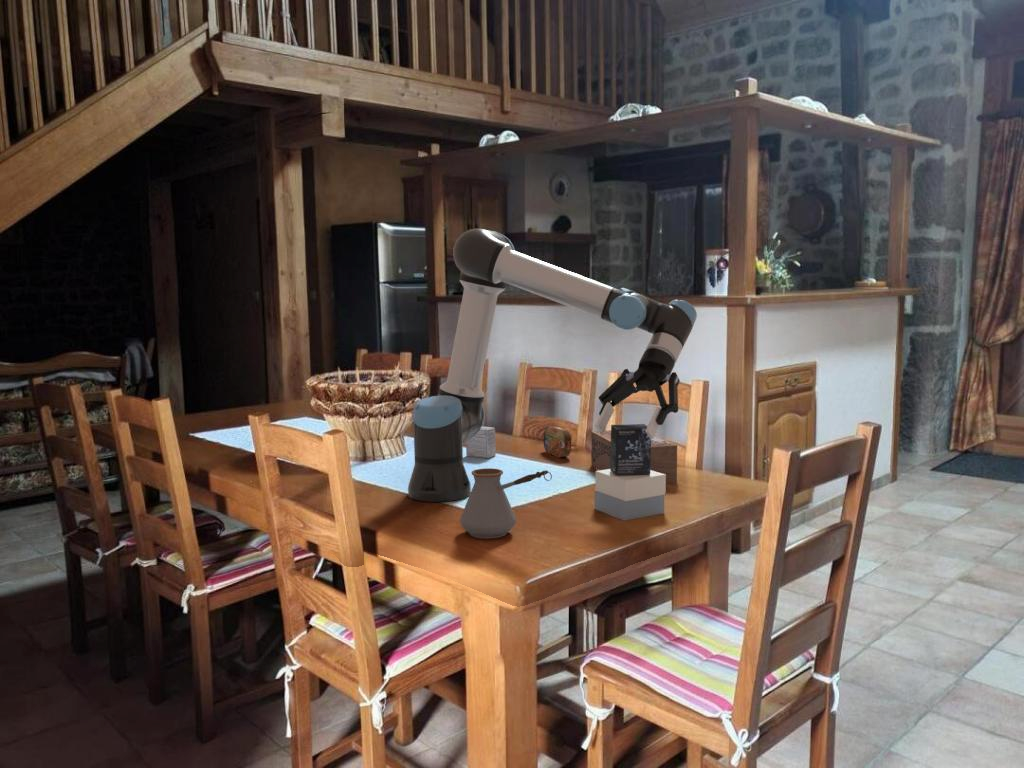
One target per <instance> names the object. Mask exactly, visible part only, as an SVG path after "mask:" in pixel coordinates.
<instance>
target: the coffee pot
mask: <svg viewBox="0 0 1024 768" xmlns="http://www.w3.org/2000/svg"><path fill="white" fill-rule="evenodd" d="M503 474H504V471H503V470H502V469H498V468H489V467H487V468H479V469H478V468H477V469H474V470H472V471H471V475H472V476H473V479H474V484H473V486H472V487H471V488H472V489H471V493H470V495H469V496H468V498H467V500H466V503H465V506H464V509H463V511H462V513H461V515H460V519H459V523H460V526H461V527H462V528H463V530H465V531H466V533H469V535H470V536H471V537H474V538H476V539H477V538H478V539H497V538H498V539H499V538H502V537H505V536H506V535H507V534H508V532H510V531H511V530H512V528H514V526H515V524H516V521H517V517H516V515H515V512H514V511H513V508H512V506H511V502H510V501H509V499H508V497H507V494H506V492H505V489H508V488H510V487H513V486H518V485H521V484H524V483H528V482H532V481H533V480H535V479H537V478H538V479H541V478H542V476H543V478H544V480H545V481H547V482H548V481H549V482H550V481H551V480H552V478H553V476H552V473H551V472H550V471H548V470H542V471H541V472H540V471H536V472H535V473H532V474H531V473H530V474H527V475H525V476H523V477H520V478H518V479H516V480H513V481H511V482H506V483H504V484H502V483H501V476H502V475H503ZM548 474H549V475H550V479H547V478H546V476H545V475H548Z"/></svg>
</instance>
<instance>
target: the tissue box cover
mask: <svg viewBox="0 0 1024 768" xmlns="http://www.w3.org/2000/svg"><path fill="white" fill-rule="evenodd" d="M590 437H591V439H590V445H591V446H590V447H591V449H590V452H591V453H590V454H591V455H590V456H591V458H590V460H591V462H590V463H591V465H593V466H594V467H595V468H594V467H593V466H592V467H593V468H594V469H596V468H597V469H599V470H606V469H610V459H611V458H610V457H611V429H609V430H604V432H603V433H602V432H600V431H599V430H593V431H591V433H590ZM591 465H590V466H591ZM597 469H596V470H597ZM599 470H598V471H599ZM650 470H652V471H655V472H659V473H662V474H666V483H673V484H678V483H677V482H678V445H677V444H675V443H673V442H671V441H668V440H666V439H664V438H661V437H659V436H657V435H655V436H654V438H653V439H651V460H650Z"/></svg>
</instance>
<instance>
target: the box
mask: <svg viewBox="0 0 1024 768" xmlns="http://www.w3.org/2000/svg"><path fill="white" fill-rule="evenodd" d="M647 426H648V425H647V424H645V423H640V424H639V423H637V424H636V423H635V424H610V430H611V457H610V458H611V459H610V470H611V471H612V472H613V473H614V474H615V475H616V476H620V475H650V460H651V439H650V438H649V436H648V435H647V433H646V428H647Z"/></svg>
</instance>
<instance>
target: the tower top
mask: <svg viewBox="0 0 1024 768" xmlns="http://www.w3.org/2000/svg"><path fill="white" fill-rule="evenodd" d="M666 485H667V484H666V474H662V473H659V472H655V471H652V470H650V475H620V476H616V475H615V474H614V473H613V472H612V471H611V470H610V469H606V470H595V491H598V492H601V493H604V494H606V495H609V496H612V497H615V498H618V499H620V500H623V501H630V500H636V499H642V498H648V497H654V496H660V495H664V496H665V495H666V492H667V491H666Z"/></svg>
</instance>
